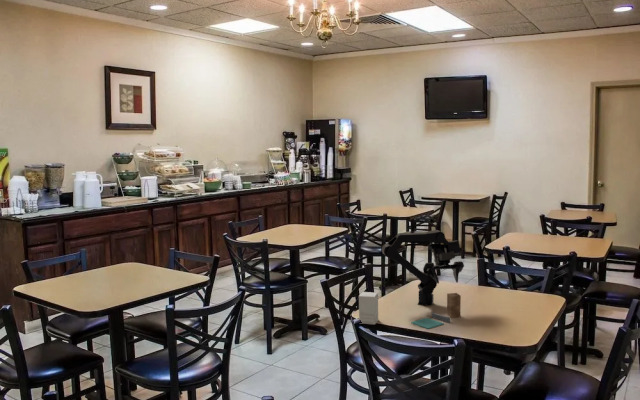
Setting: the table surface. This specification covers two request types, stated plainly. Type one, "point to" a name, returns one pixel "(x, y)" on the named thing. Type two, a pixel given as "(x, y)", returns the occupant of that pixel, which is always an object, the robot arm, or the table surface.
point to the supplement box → (368, 307)
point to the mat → (427, 323)
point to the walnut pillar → (453, 305)
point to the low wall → (441, 317)
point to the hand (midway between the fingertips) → (447, 282)
